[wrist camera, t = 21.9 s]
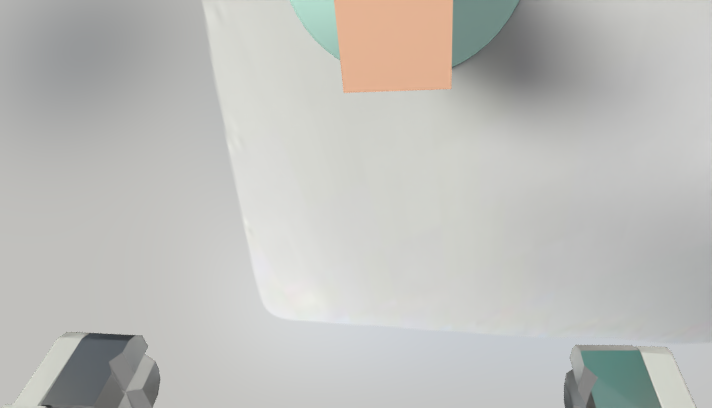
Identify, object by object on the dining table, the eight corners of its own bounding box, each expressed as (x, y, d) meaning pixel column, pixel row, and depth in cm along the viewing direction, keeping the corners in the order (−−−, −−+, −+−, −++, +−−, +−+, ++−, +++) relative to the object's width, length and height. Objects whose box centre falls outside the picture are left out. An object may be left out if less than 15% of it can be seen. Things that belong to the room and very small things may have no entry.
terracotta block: (449, -54, 26) (453, -26, 22) (447, 48, 29) (451, 88, 25) (345, -47, 27) (332, -18, 23) (354, 52, 30) (343, 92, 26)
